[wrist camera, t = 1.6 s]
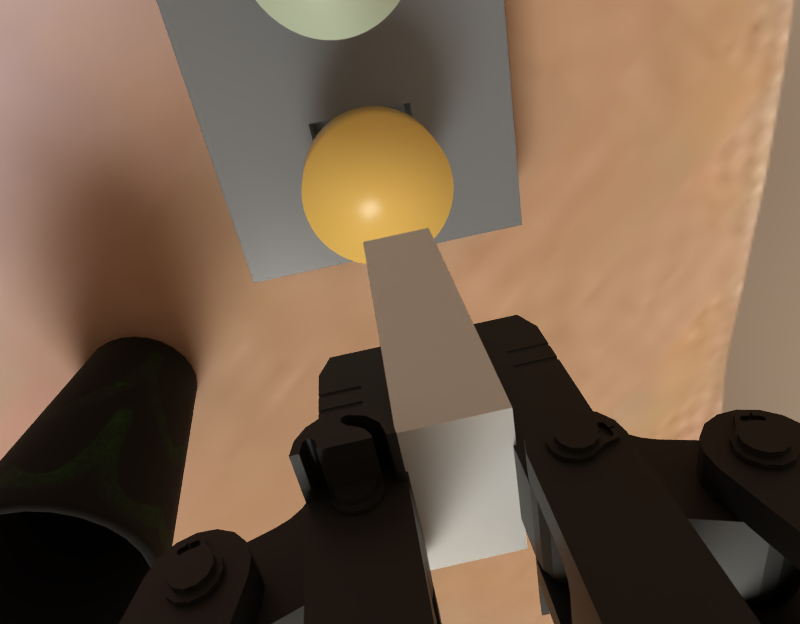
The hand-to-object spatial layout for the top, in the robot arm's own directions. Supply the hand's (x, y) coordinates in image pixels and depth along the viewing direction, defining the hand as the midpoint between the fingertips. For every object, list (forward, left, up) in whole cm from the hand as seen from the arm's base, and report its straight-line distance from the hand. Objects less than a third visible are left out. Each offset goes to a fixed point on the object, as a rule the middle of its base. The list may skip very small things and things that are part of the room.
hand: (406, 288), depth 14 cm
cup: (+9, -14, -14) cm, 22 cm away
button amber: (0, 0, -11) cm, 11 cm away
